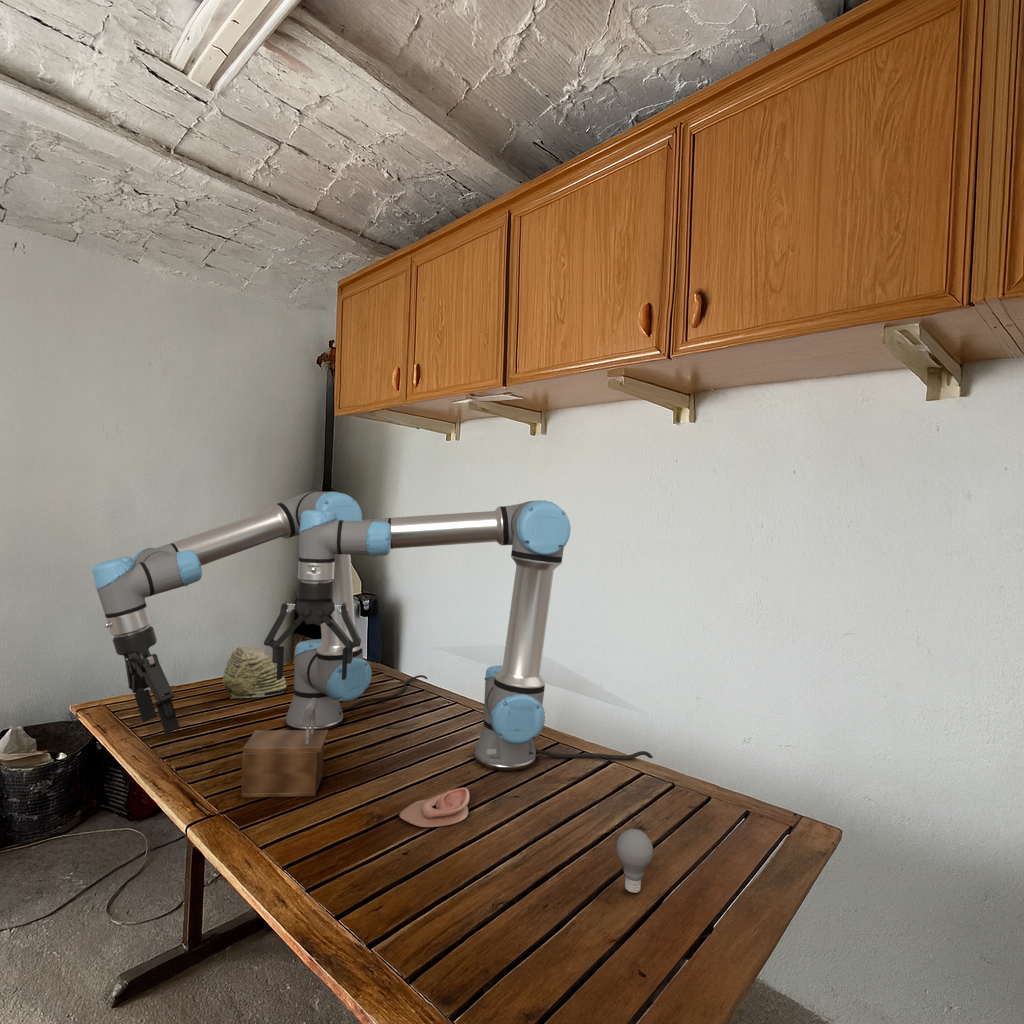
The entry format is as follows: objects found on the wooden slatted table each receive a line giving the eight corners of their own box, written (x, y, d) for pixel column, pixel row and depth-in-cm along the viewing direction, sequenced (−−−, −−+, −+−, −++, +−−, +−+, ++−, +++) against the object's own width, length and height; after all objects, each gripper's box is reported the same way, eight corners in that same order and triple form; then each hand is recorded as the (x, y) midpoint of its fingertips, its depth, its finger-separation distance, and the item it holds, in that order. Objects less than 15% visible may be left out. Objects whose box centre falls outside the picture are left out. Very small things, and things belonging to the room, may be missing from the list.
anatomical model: (393, 802, 124) (414, 778, 135) (393, 823, 124) (413, 796, 135) (459, 812, 121) (474, 786, 132) (458, 833, 121) (473, 805, 133)
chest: (322, 775, 144) (324, 734, 144) (315, 796, 134) (317, 752, 134) (253, 776, 142) (255, 735, 142) (240, 797, 132) (242, 753, 132)
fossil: (218, 695, 195) (220, 647, 195) (278, 685, 208) (279, 640, 207) (228, 703, 189) (230, 653, 188) (289, 692, 201) (290, 645, 201)
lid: (328, 734, 144) (329, 695, 144) (321, 752, 134) (322, 710, 134) (255, 734, 142) (256, 695, 142) (242, 752, 132) (244, 710, 132)
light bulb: (610, 879, 108) (613, 822, 108) (644, 879, 109) (647, 822, 109) (619, 902, 102) (622, 840, 102) (655, 901, 103) (658, 840, 103)
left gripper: (95, 632, 138) (123, 722, 141) (132, 643, 121) (163, 745, 124) (132, 620, 143) (158, 707, 146) (172, 629, 126) (201, 727, 129)
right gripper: (251, 581, 132) (247, 682, 133) (372, 584, 136) (369, 683, 136) (260, 577, 140) (256, 672, 140) (375, 580, 143) (371, 673, 144)
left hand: (160, 725), depth 135 cm, fingers open, 13 cm apart
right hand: (312, 678), depth 138 cm, fingers open, 13 cm apart
